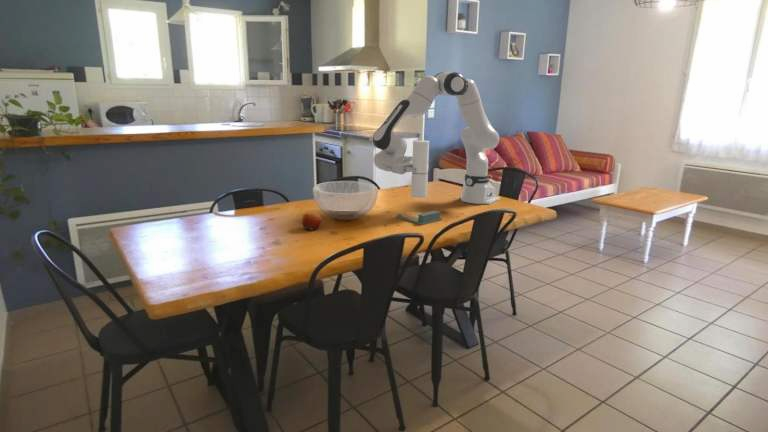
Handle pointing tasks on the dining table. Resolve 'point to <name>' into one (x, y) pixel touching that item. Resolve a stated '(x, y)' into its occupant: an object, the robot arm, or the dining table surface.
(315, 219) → the fruit
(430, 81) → the robot arm
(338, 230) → the dining table surface
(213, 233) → the dining table surface
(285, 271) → the dining table surface
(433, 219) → the deck plate
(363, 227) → the dining table surface
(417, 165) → the cylindrical container
